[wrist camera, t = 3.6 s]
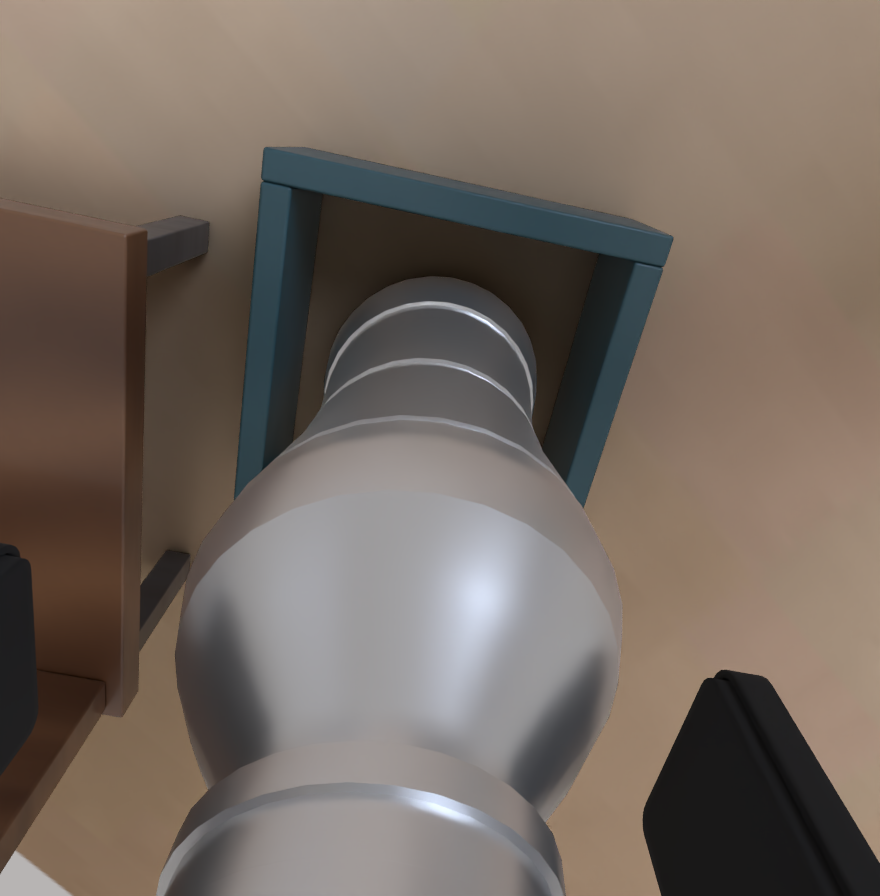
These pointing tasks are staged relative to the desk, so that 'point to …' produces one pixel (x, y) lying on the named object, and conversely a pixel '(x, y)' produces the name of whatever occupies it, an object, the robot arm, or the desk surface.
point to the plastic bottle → (397, 629)
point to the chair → (78, 471)
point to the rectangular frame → (318, 172)
